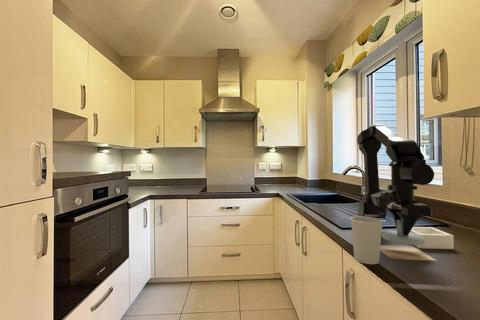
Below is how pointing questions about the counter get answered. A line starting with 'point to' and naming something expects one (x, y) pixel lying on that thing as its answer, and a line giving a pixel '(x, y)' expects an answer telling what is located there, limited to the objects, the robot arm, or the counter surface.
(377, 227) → the cup
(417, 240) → the lid
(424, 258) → the mat
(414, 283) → the counter surface
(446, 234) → the dish
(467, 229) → the counter surface
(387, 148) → the robot arm
